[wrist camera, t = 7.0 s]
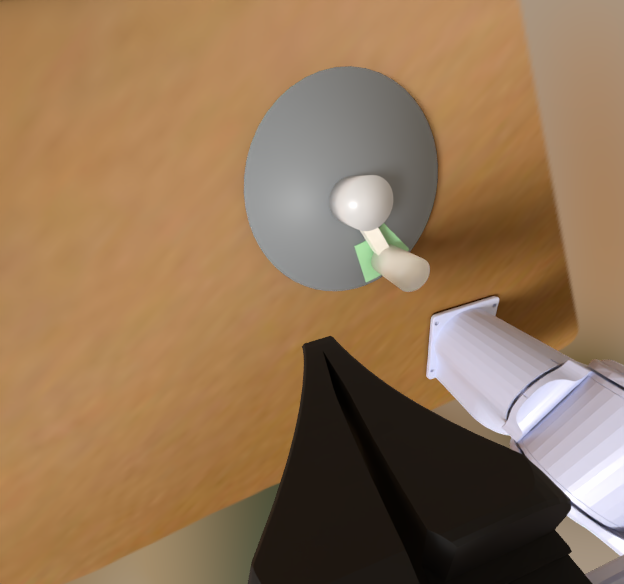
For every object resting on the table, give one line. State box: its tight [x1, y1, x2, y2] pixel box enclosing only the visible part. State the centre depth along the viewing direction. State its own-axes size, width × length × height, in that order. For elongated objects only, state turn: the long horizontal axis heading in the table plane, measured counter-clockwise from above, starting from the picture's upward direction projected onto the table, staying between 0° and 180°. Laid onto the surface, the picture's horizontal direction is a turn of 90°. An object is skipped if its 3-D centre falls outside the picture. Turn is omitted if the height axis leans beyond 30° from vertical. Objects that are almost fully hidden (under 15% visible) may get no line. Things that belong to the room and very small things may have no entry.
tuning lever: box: [329, 175, 430, 292], centre depth 15 cm, size 8×3×4 cm, turn 38°
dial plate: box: [244, 66, 438, 291], centre depth 16 cm, size 14×14×1 cm
